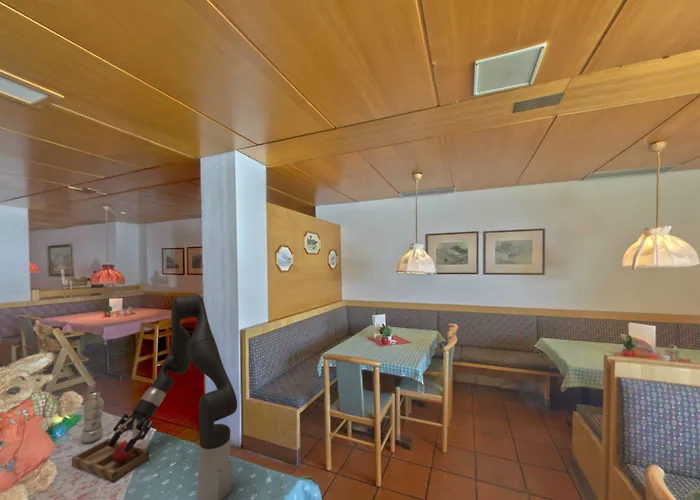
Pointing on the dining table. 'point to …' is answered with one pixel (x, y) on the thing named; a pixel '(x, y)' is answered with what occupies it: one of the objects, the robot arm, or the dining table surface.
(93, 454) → the walnut tray
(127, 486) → the dining table surface
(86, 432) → the plastic bottle
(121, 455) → the pomegranate
